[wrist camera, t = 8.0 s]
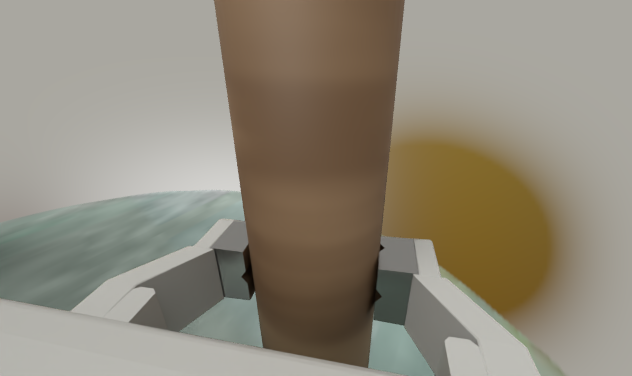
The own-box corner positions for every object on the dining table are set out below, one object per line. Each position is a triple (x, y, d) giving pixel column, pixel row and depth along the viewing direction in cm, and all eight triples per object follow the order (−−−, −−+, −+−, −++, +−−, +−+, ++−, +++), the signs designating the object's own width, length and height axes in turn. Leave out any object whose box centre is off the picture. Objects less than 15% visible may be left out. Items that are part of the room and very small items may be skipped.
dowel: (275, 392, 14) (224, -9, 7) (349, 380, 14) (371, -8, 7) (277, 496, 11) (187, -56, 4) (372, 476, 11) (449, -50, 4)
